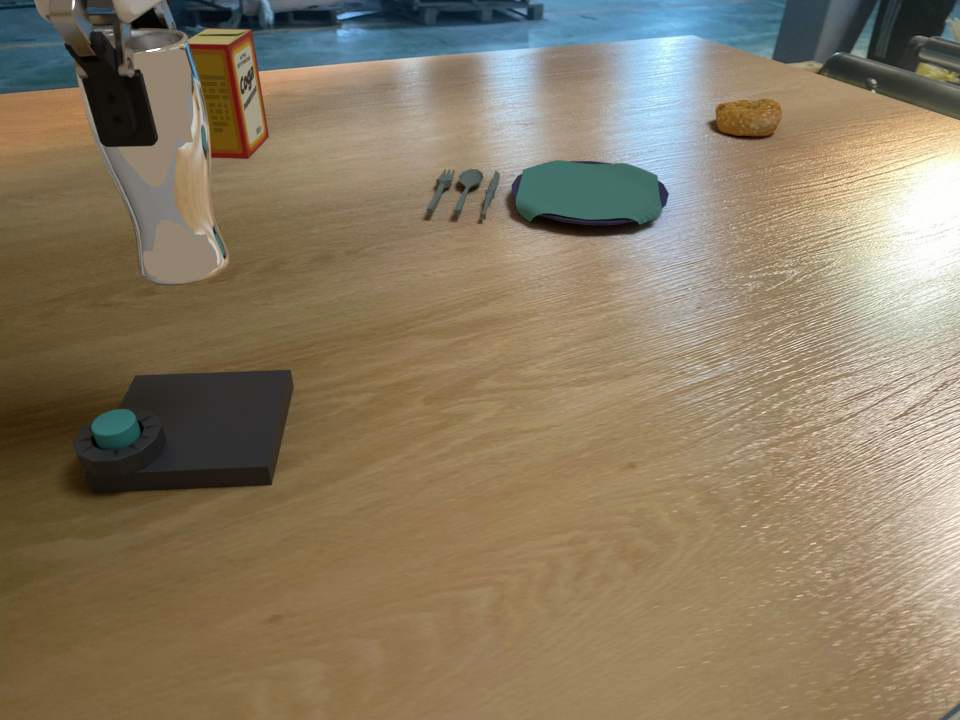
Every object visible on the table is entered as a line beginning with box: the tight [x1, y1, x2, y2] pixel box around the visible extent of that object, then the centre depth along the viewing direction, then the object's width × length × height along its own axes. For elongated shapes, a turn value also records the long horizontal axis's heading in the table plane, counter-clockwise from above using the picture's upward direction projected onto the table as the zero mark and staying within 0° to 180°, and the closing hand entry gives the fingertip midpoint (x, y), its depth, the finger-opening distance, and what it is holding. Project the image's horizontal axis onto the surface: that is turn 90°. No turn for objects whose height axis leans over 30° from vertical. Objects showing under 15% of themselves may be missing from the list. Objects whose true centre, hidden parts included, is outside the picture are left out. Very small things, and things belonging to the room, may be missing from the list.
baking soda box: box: [188, 27, 270, 159], centre depth 110 cm, size 10×6×16 cm
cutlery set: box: [426, 159, 670, 226], centre depth 98 cm, size 20×30×2 cm, turn 82°
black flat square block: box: [72, 369, 295, 494], centre depth 59 cm, size 14×12×4 cm
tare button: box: [91, 408, 141, 450], centre depth 55 cm, size 3×3×2 cm
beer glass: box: [72, 28, 231, 286], centre depth 49 cm, size 7×7×15 cm
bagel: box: [714, 98, 783, 137], centre depth 120 cm, size 10×11×5 cm
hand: (149, 121), depth 48 cm, fingers closed on beer glass, 7 cm apart
